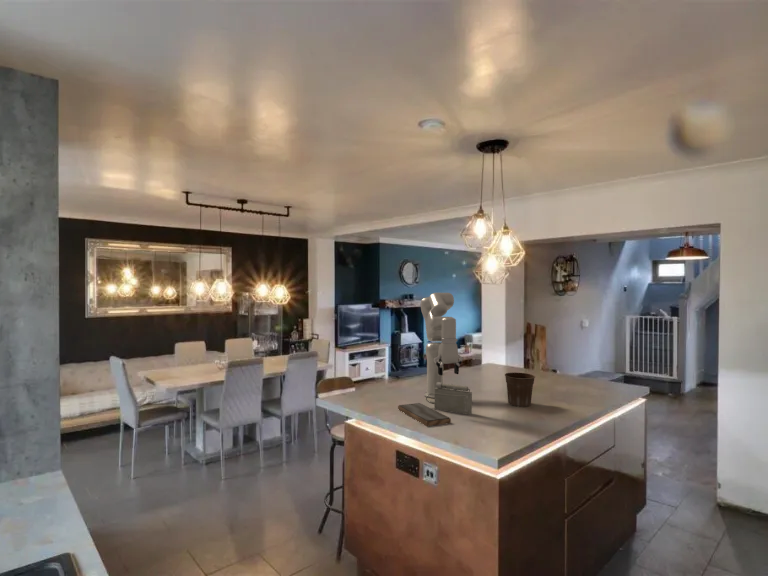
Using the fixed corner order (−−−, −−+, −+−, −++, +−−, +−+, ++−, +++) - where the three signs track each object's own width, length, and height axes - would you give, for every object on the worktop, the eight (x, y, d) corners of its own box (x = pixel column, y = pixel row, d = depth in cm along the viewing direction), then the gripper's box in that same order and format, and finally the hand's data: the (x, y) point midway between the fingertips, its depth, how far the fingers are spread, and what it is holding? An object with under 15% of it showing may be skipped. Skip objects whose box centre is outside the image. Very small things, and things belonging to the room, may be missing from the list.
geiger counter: (473, 385, 225) (428, 380, 238) (469, 387, 220) (423, 382, 232) (472, 412, 225) (428, 405, 238) (468, 415, 219) (423, 408, 232)
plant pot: (536, 409, 233) (537, 378, 233) (505, 407, 237) (505, 377, 237) (532, 401, 249) (533, 373, 249) (503, 399, 252) (503, 371, 253)
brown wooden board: (419, 407, 234) (420, 402, 234) (450, 423, 207) (450, 417, 207) (398, 409, 229) (398, 405, 229) (426, 426, 202) (426, 420, 202)
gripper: (458, 340, 236) (458, 372, 235) (430, 341, 228) (430, 374, 228) (466, 341, 229) (466, 374, 228) (438, 342, 222) (437, 376, 221)
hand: (448, 374), depth 228 cm, fingers open, 9 cm apart
